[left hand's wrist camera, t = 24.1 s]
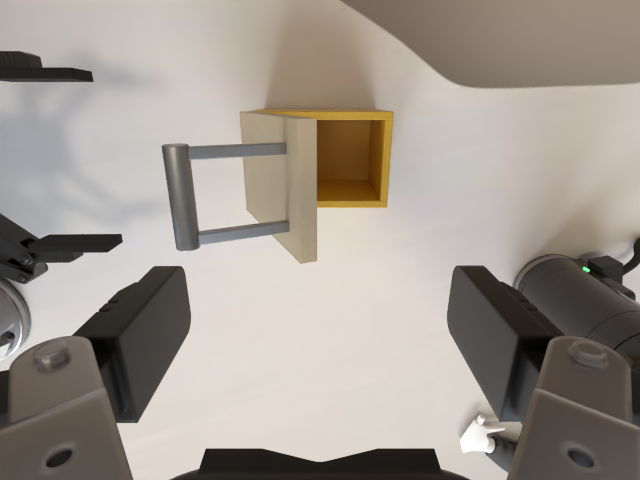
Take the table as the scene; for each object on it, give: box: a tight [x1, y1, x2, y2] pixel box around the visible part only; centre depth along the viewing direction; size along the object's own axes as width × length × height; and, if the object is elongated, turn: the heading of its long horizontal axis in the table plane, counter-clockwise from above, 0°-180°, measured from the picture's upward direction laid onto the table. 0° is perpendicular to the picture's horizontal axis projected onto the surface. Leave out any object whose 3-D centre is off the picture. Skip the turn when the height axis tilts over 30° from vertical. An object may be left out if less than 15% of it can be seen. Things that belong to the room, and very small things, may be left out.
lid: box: [162, 112, 317, 264], centre depth 27 cm, size 14×9×8 cm
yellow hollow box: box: [248, 109, 393, 208], centre depth 40 cm, size 13×9×11 cm
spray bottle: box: [460, 414, 517, 473], centre depth 61 cm, size 3×11×24 cm
